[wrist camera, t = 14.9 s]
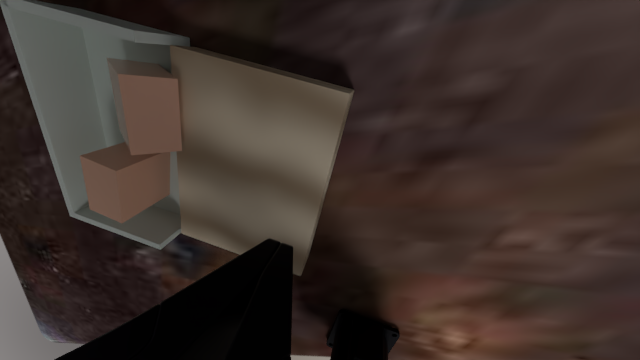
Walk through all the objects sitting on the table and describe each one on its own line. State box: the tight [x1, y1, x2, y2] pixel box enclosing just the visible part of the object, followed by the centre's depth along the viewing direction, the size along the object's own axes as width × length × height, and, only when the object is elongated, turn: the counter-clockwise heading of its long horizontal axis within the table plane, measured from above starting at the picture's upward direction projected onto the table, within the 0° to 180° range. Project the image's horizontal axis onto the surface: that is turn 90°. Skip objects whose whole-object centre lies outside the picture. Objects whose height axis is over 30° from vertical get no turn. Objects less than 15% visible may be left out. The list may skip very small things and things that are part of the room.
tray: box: [0, 0, 190, 250], centre depth 20 cm, size 17×10×4 cm, turn 167°
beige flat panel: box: [170, 45, 354, 276], centre depth 20 cm, size 16×12×2 cm
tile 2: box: [80, 142, 170, 223], centre depth 21 cm, size 5×5×3 cm
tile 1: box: [107, 58, 182, 155], centre depth 17 cm, size 5×5×3 cm
